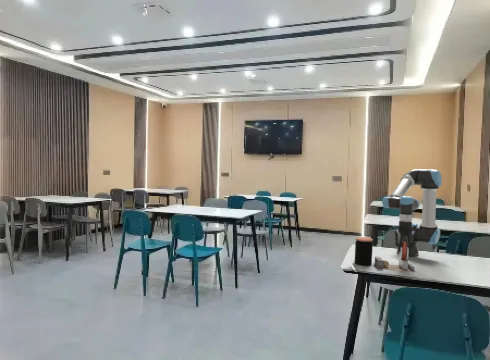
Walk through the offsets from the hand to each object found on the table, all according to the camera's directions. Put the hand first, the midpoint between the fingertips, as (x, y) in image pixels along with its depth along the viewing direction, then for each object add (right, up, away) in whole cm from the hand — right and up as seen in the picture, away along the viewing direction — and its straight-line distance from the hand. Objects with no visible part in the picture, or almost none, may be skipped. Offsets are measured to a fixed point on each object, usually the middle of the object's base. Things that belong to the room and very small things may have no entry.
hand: (403, 257), depth 229 cm
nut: (-11, -6, +2) cm, 13 cm away
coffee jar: (-23, -7, +7) cm, 25 cm away
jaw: (0, -6, 0) cm, 6 cm away
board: (-6, -8, +1) cm, 10 cm away
